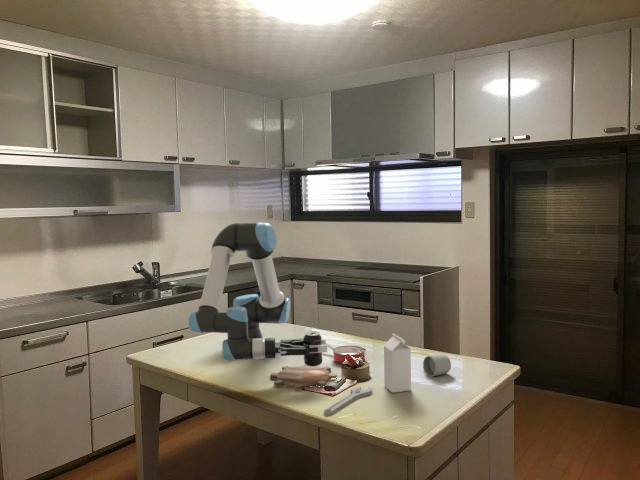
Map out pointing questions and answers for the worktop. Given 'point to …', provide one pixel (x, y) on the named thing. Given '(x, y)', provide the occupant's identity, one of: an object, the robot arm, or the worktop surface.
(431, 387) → the worktop surface
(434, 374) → the ceramic mug
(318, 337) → the beverage can
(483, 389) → the worktop surface
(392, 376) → the milk carton
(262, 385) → the worktop surface
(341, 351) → the red saucepan
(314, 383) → the sprocket plate
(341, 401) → the adjustable wrench
